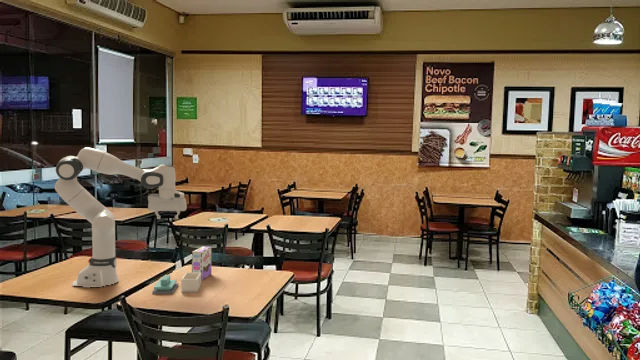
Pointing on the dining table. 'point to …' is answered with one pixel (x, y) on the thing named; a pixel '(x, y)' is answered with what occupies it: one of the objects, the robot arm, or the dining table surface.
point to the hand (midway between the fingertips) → (167, 218)
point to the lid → (165, 283)
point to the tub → (191, 283)
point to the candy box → (202, 261)
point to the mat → (166, 290)
